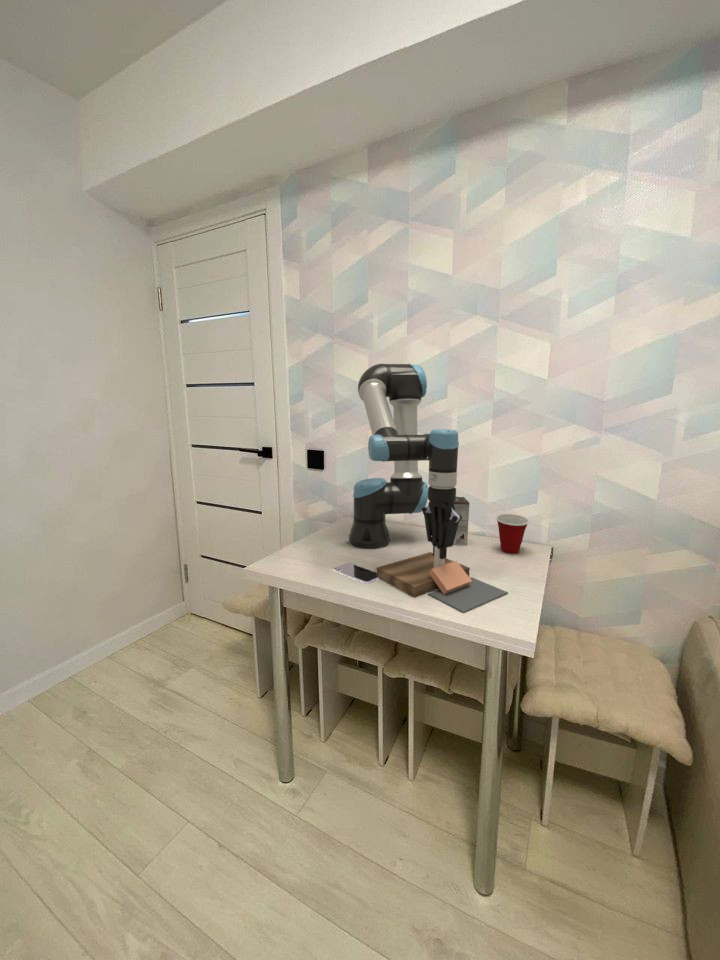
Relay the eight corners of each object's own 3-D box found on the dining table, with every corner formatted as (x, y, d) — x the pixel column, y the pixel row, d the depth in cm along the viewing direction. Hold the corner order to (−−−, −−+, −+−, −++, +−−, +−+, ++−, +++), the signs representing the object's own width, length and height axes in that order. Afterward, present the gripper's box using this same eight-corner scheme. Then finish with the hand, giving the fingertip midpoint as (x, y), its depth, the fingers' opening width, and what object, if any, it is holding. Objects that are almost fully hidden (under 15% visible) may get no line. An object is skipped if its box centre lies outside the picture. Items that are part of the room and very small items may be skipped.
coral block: (428, 573, 111) (431, 568, 110) (453, 565, 117) (456, 561, 116) (444, 594, 107) (447, 590, 106) (468, 585, 113) (472, 580, 112)
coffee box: (445, 537, 156) (447, 496, 153) (462, 537, 155) (464, 496, 153) (449, 545, 147) (451, 501, 144) (467, 545, 146) (469, 502, 144)
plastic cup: (497, 556, 136) (500, 522, 134) (490, 545, 146) (492, 513, 144) (531, 557, 135) (534, 522, 133) (521, 546, 146) (523, 514, 143)
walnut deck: (376, 577, 119) (376, 567, 119) (429, 560, 132) (430, 551, 131) (414, 597, 107) (414, 586, 106) (469, 577, 119) (469, 567, 119)
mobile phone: (367, 582, 114) (330, 568, 124) (367, 585, 114) (330, 571, 124) (384, 574, 120) (347, 561, 130) (384, 577, 120) (347, 564, 130)
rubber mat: (427, 594, 108) (427, 593, 108) (471, 578, 118) (471, 577, 118) (463, 613, 98) (463, 611, 98) (507, 593, 109) (508, 592, 109)
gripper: (415, 484, 114) (413, 564, 118) (450, 492, 103) (447, 579, 107) (434, 481, 118) (431, 558, 122) (470, 488, 108) (466, 572, 112)
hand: (439, 568), depth 115 cm, fingers closed
